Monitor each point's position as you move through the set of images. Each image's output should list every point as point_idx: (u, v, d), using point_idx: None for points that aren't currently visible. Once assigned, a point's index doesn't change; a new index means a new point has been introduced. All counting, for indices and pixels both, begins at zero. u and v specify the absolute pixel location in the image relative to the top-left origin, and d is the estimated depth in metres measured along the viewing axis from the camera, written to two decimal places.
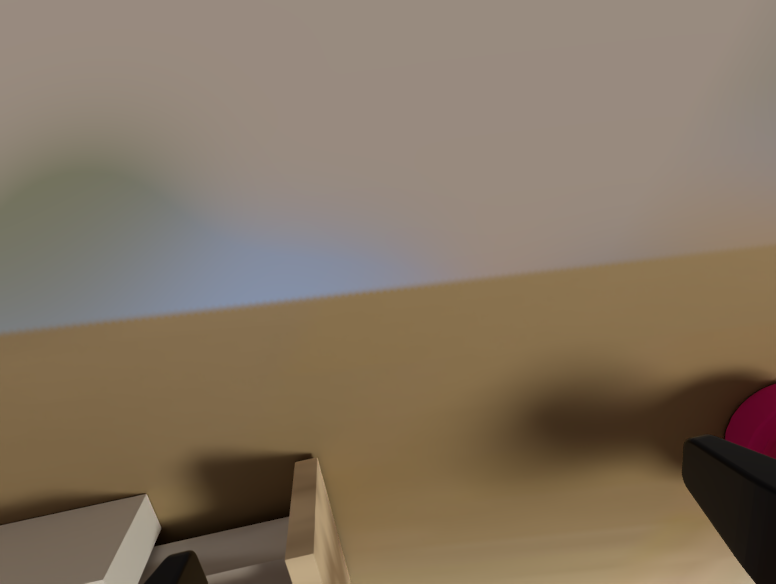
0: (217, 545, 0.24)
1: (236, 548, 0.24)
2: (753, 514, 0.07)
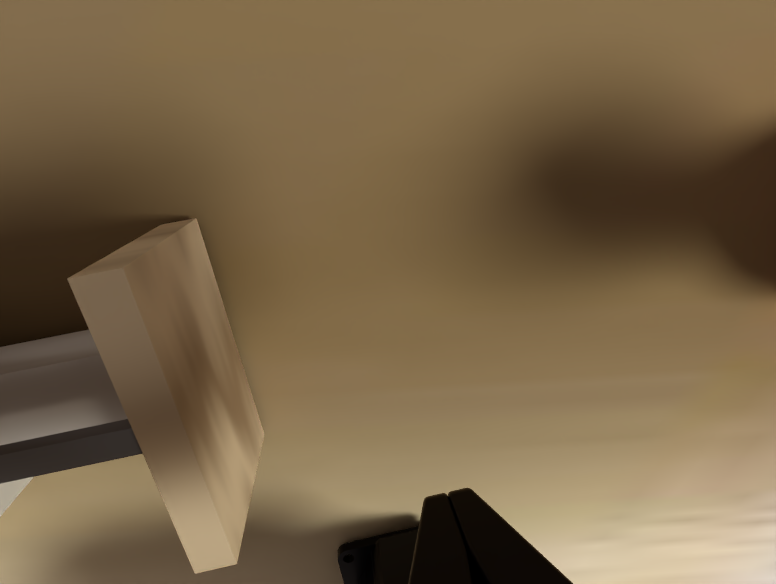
0: (33, 348, 0.15)
1: (59, 348, 0.15)
2: (473, 580, 0.07)
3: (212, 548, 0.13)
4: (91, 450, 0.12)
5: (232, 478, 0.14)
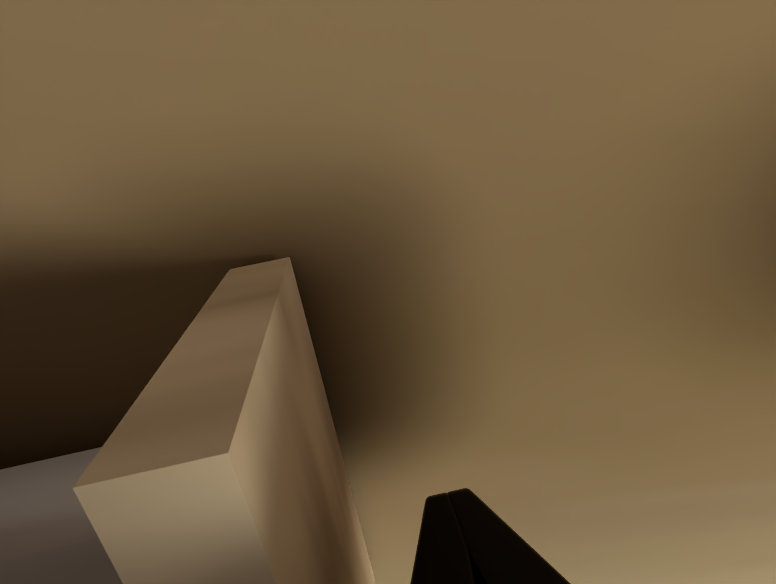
0: (13, 492, 0.09)
1: (57, 497, 0.08)
2: None
3: None
4: None
5: None
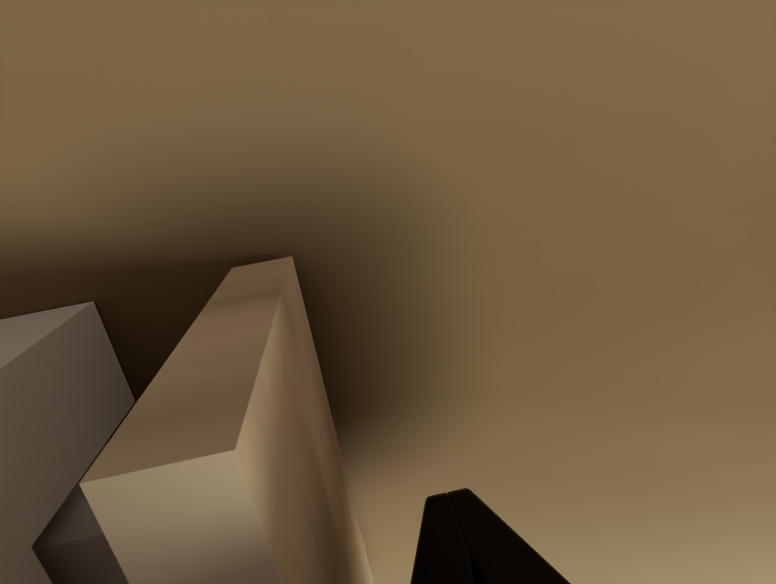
0: None
1: None
2: None
3: None
4: None
5: None
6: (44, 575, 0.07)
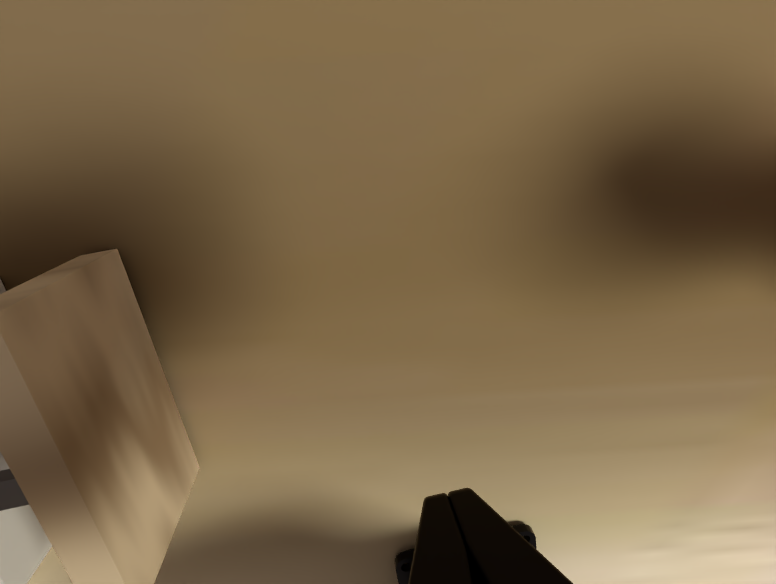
0: None
1: None
2: (473, 580, 0.07)
3: None
4: None
5: (143, 522, 0.14)
6: None
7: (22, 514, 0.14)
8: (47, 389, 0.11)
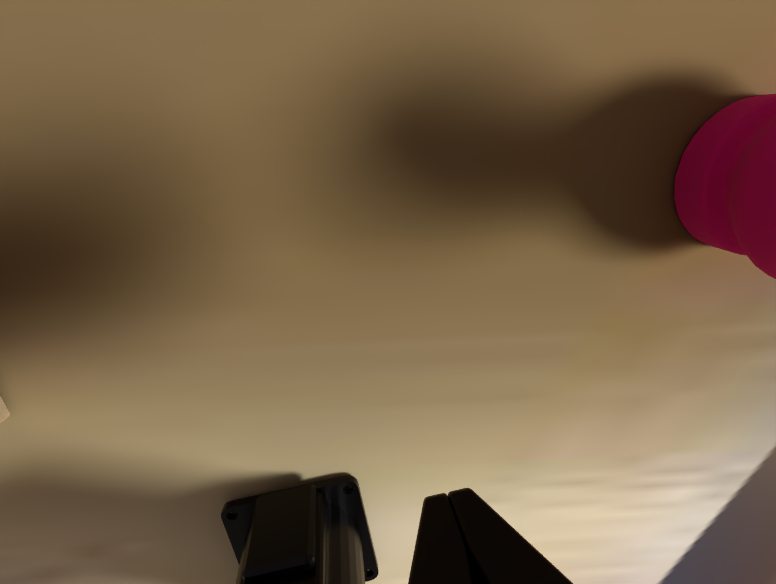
0: None
1: None
2: (473, 580, 0.07)
3: None
4: None
5: None
6: None
7: None
8: None
